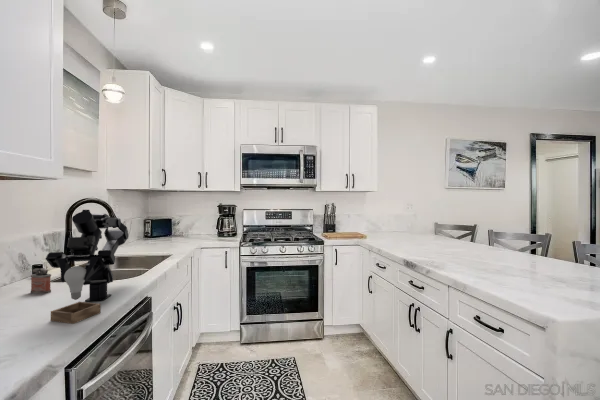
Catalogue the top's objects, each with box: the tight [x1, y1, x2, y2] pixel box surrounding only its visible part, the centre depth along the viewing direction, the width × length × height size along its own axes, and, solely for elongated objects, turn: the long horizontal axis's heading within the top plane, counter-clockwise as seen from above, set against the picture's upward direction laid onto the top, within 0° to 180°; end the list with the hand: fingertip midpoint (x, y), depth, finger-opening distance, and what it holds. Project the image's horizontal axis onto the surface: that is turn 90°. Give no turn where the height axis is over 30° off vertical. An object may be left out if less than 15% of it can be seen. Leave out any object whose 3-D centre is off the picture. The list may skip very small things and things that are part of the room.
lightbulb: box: [64, 265, 87, 301], centre depth 94 cm, size 6×6×11 cm
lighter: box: [30, 267, 52, 295], centre depth 119 cm, size 8×3×10 cm, turn 84°
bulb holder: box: [50, 301, 102, 325], centre depth 94 cm, size 9×9×3 cm
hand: (73, 280), depth 92 cm, fingers closed on lightbulb, 6 cm apart
